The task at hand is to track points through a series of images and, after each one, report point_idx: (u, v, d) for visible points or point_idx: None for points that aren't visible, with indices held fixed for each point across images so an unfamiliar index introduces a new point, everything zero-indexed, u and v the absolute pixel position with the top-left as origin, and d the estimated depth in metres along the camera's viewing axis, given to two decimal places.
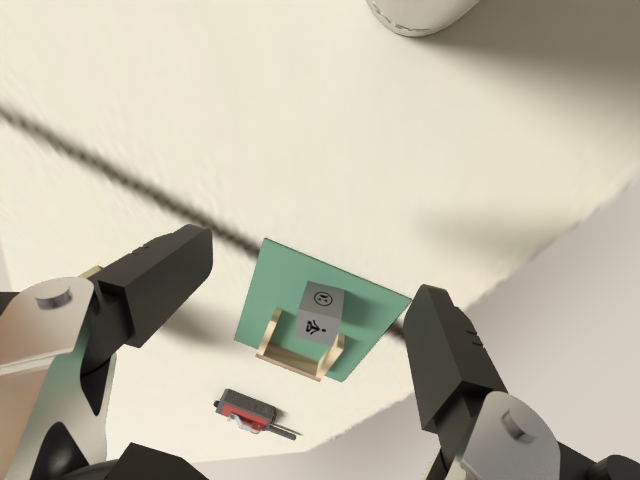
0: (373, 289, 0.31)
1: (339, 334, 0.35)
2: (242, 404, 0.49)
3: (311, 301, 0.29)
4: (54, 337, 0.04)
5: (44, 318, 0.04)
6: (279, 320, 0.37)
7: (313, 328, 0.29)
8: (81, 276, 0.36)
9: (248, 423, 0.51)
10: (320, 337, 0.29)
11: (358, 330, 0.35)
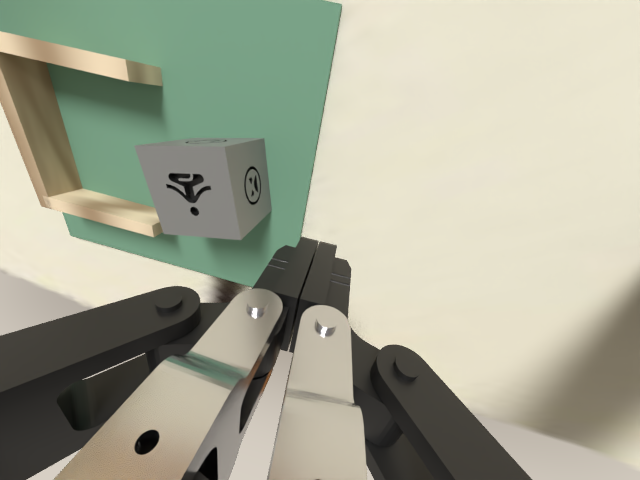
0: None
1: None
2: None
3: (243, 166, 0.13)
4: (243, 350, 0.05)
5: (245, 325, 0.05)
6: (128, 83, 0.16)
7: (185, 188, 0.13)
8: None
9: None
10: (171, 207, 0.14)
11: (199, 243, 0.21)
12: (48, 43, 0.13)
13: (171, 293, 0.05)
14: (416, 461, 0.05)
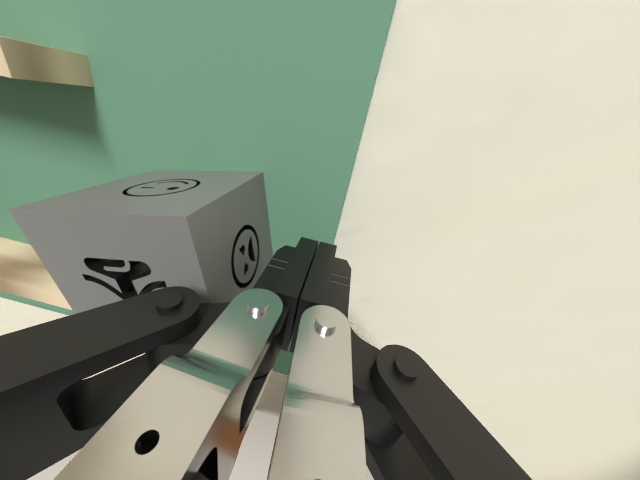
0: None
1: None
2: None
3: (228, 234, 0.07)
4: (243, 350, 0.05)
5: (245, 325, 0.05)
6: (36, 81, 0.10)
7: (120, 280, 0.07)
8: None
9: None
10: None
11: None
12: None
13: (172, 293, 0.05)
14: (416, 461, 0.05)
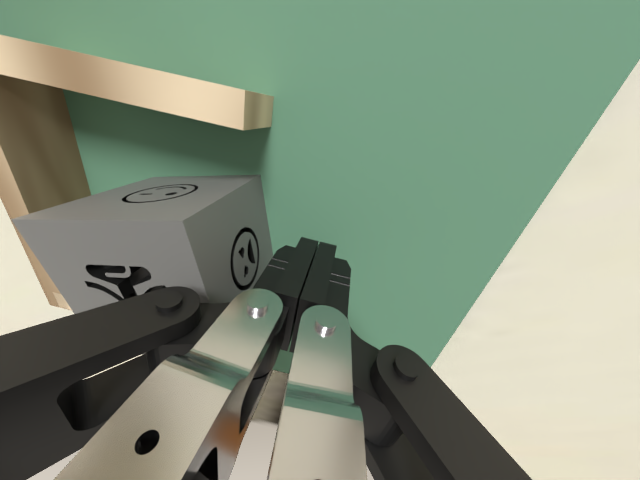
0: (425, 354, 0.13)
1: None
2: None
3: (227, 237, 0.08)
4: (243, 350, 0.05)
5: (245, 325, 0.05)
6: None
7: (122, 286, 0.07)
8: None
9: None
10: None
11: None
12: (82, 56, 0.07)
13: (171, 293, 0.05)
14: (416, 461, 0.05)
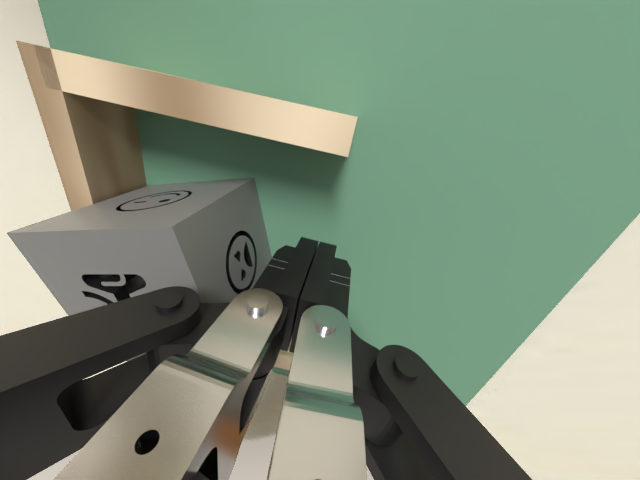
0: (481, 371, 0.13)
1: None
2: None
3: (221, 241, 0.08)
4: (243, 350, 0.05)
5: (245, 325, 0.05)
6: None
7: (119, 294, 0.07)
8: None
9: None
10: None
11: None
12: (187, 82, 0.06)
13: (172, 293, 0.05)
14: (416, 461, 0.05)
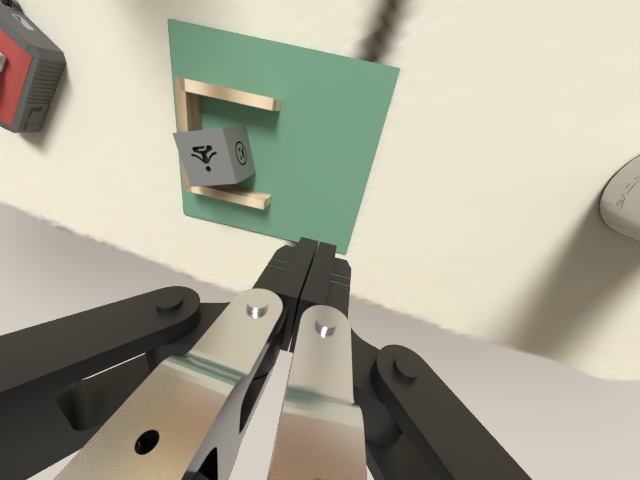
0: (350, 218, 0.29)
1: (270, 196, 0.29)
2: (36, 89, 0.26)
3: (233, 140, 0.23)
4: (243, 350, 0.05)
5: (245, 324, 0.05)
6: (256, 108, 0.25)
7: (202, 155, 0.23)
8: None
9: None
10: (194, 168, 0.23)
11: (285, 216, 0.30)
12: (224, 88, 0.22)
13: (172, 293, 0.05)
14: (416, 461, 0.05)
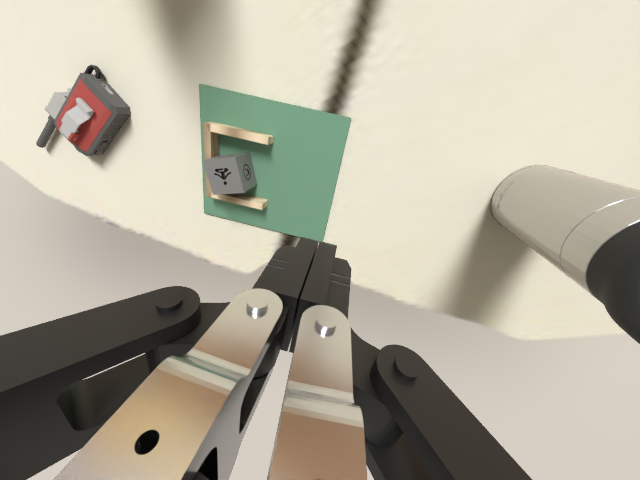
0: (324, 216, 0.40)
1: (267, 200, 0.40)
2: (109, 130, 0.38)
3: (242, 164, 0.35)
4: (243, 350, 0.05)
5: (245, 325, 0.05)
6: None
7: (221, 174, 0.34)
8: None
9: None
10: (216, 182, 0.35)
11: (277, 214, 0.41)
12: (236, 130, 0.34)
13: (172, 293, 0.05)
14: (416, 461, 0.05)
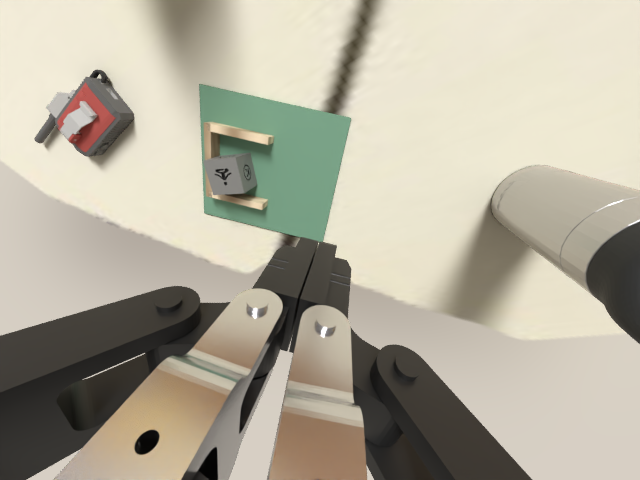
0: (324, 216, 0.40)
1: (267, 200, 0.40)
2: (111, 133, 0.38)
3: (242, 164, 0.35)
4: (243, 350, 0.05)
5: (245, 325, 0.05)
6: None
7: (221, 174, 0.35)
8: None
9: None
10: (216, 182, 0.35)
11: (277, 214, 0.41)
12: (236, 130, 0.34)
13: (171, 293, 0.05)
14: (416, 461, 0.05)
